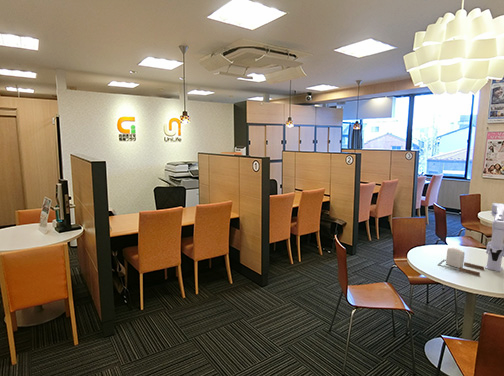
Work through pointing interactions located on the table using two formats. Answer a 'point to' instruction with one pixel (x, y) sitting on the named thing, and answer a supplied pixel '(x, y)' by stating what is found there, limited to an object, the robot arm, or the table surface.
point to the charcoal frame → (444, 266)
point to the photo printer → (455, 257)
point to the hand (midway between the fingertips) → (494, 260)
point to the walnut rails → (471, 270)
